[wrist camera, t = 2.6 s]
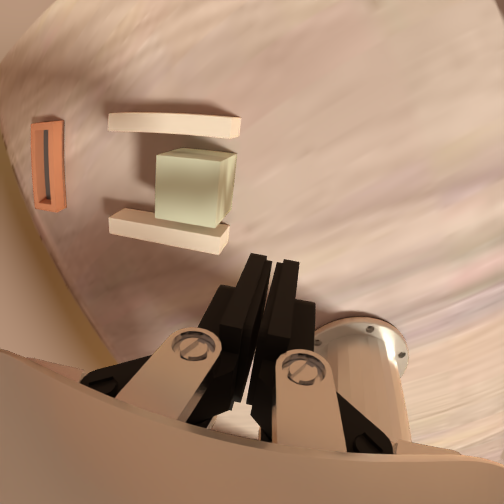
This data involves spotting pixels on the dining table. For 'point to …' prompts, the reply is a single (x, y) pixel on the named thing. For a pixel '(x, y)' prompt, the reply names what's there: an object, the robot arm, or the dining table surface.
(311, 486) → the robot arm
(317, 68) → the dining table surface
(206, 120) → the walled channel
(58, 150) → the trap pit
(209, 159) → the sage block
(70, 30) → the dining table surface
